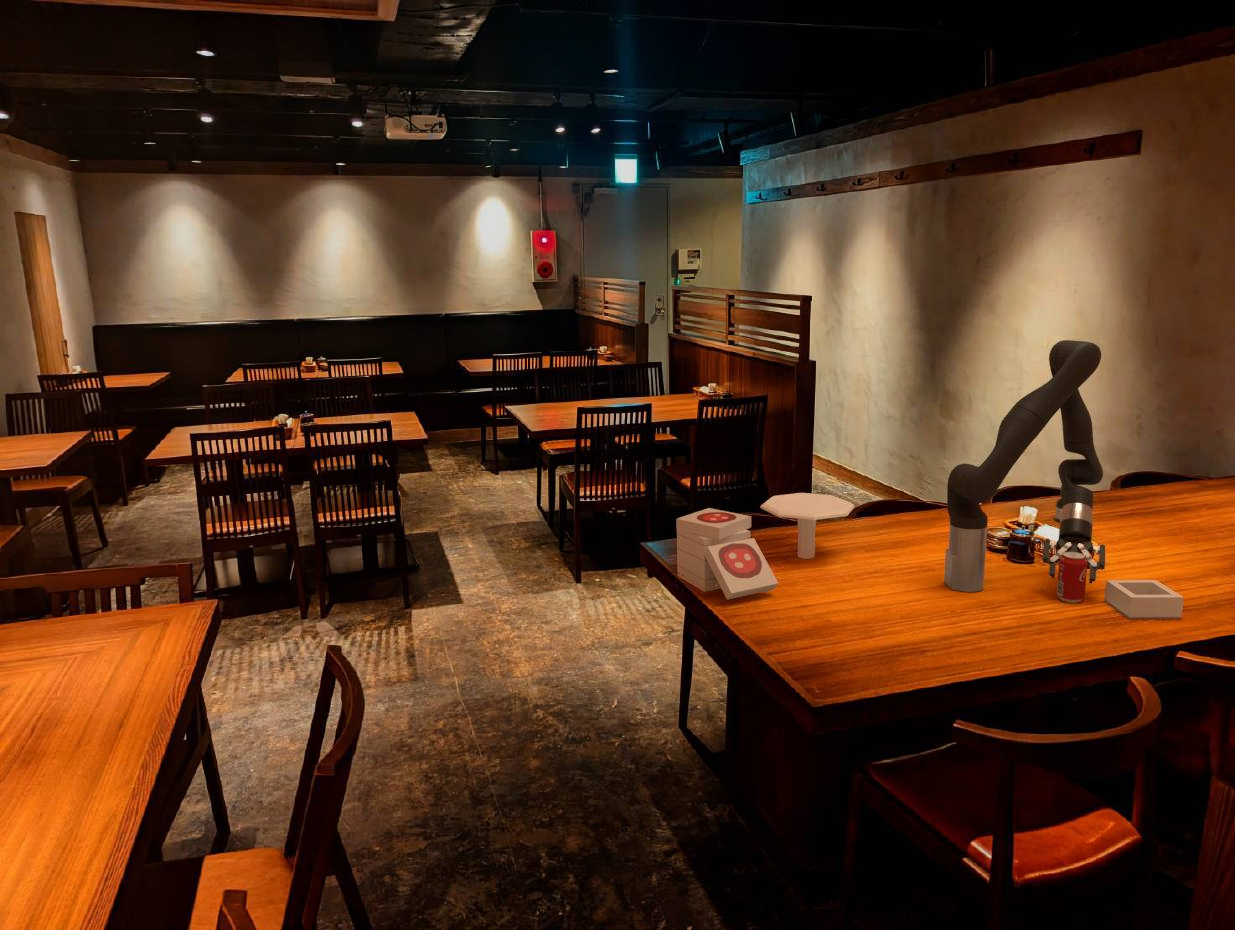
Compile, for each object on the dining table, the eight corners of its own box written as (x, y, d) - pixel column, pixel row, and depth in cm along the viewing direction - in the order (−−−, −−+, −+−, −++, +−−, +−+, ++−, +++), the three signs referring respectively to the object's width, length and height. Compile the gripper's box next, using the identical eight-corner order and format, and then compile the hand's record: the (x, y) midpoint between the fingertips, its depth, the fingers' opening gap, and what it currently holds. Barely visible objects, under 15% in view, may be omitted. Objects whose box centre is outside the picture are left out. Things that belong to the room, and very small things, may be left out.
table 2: (817, 578, 237) (818, 521, 234) (740, 556, 258) (740, 503, 254) (872, 555, 255) (874, 502, 252) (797, 537, 276) (797, 487, 272)
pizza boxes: (725, 608, 217) (725, 541, 213) (668, 574, 244) (667, 514, 240) (785, 595, 225) (786, 530, 222) (724, 564, 252) (724, 505, 248)
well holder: (1129, 619, 203) (1131, 597, 202) (1104, 600, 215) (1106, 580, 214) (1181, 618, 202) (1183, 597, 201) (1153, 600, 214) (1155, 579, 213)
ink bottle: (1051, 522, 284) (1054, 487, 281) (1055, 516, 291) (1058, 482, 288) (1084, 526, 278) (1087, 491, 276) (1087, 520, 285) (1090, 485, 283)
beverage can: (1087, 604, 213) (1091, 559, 210) (1060, 603, 214) (1064, 558, 212) (1079, 595, 219) (1083, 551, 216) (1053, 594, 220) (1056, 550, 218)
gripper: (1046, 514, 222) (1040, 569, 215) (1108, 519, 215) (1105, 576, 208) (1045, 528, 228) (1040, 582, 220) (1106, 534, 221) (1103, 590, 213)
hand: (1071, 579), depth 214 cm, fingers open, 8 cm apart
